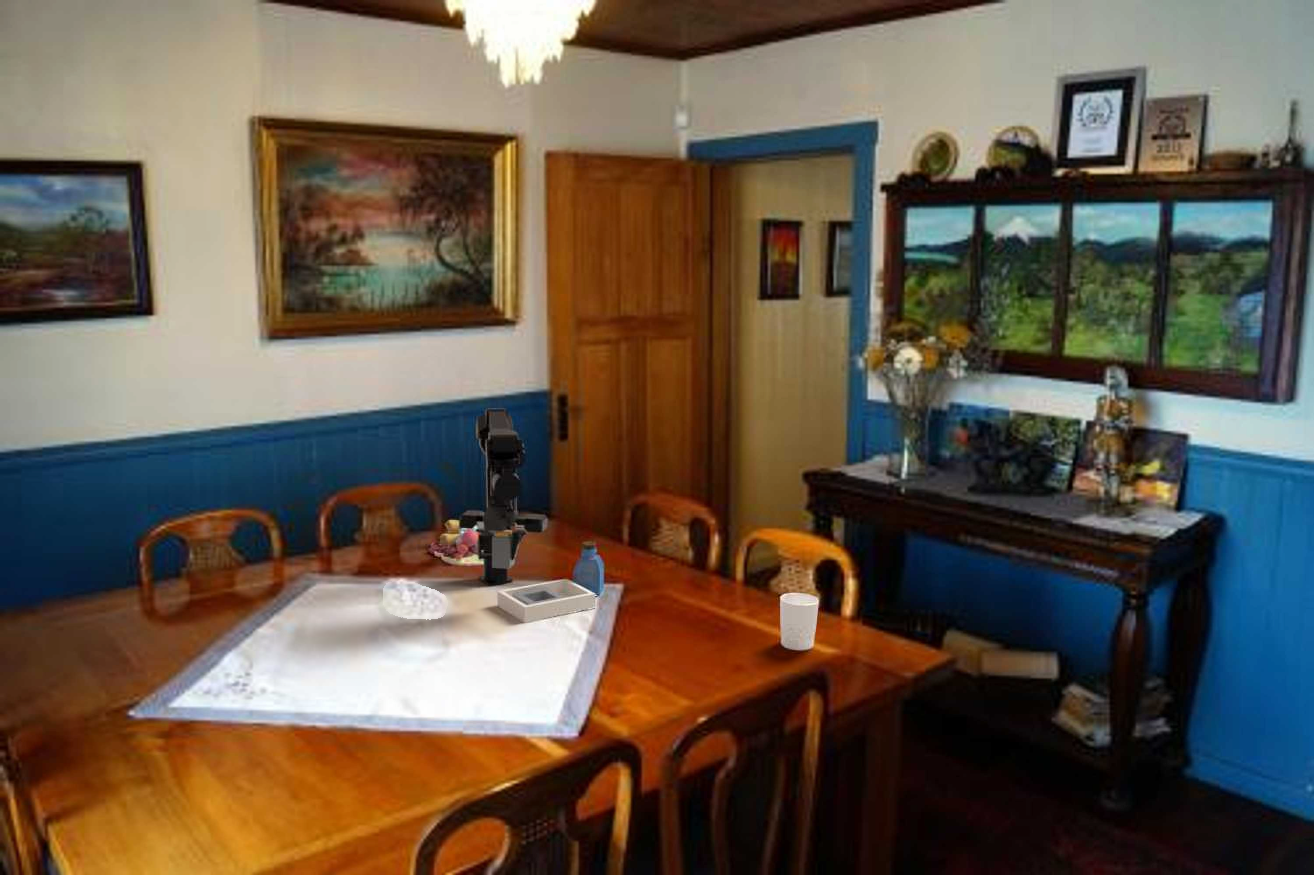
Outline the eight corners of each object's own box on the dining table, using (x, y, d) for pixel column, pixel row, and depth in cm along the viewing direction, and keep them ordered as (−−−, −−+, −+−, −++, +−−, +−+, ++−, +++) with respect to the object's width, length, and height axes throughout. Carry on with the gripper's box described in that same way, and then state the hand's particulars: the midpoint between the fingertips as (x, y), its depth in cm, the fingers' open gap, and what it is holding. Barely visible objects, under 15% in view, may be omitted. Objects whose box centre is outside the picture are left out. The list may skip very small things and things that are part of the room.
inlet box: (497, 605, 239) (497, 591, 238) (566, 592, 249) (566, 578, 248) (524, 622, 228) (524, 607, 228) (595, 608, 239) (595, 593, 238)
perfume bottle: (603, 588, 253) (604, 540, 251) (599, 596, 247) (600, 547, 245) (578, 587, 254) (578, 539, 251) (573, 595, 247) (574, 545, 245)
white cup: (819, 641, 222) (821, 595, 220) (812, 654, 214) (814, 607, 213) (782, 635, 224) (784, 590, 223) (774, 648, 217) (776, 602, 215)
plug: (492, 567, 232) (492, 533, 231) (497, 562, 236) (497, 528, 235) (509, 568, 232) (509, 534, 230) (514, 563, 236) (514, 529, 234)
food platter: (413, 549, 283) (412, 516, 281) (486, 535, 299) (486, 503, 297) (464, 571, 265) (464, 535, 263) (539, 554, 281) (539, 521, 279)
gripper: (450, 496, 224) (451, 566, 227) (536, 500, 222) (535, 572, 225) (466, 485, 235) (467, 552, 238) (548, 489, 233) (547, 557, 236)
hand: (503, 558), depth 234 cm, fingers closed on plug, 4 cm apart
